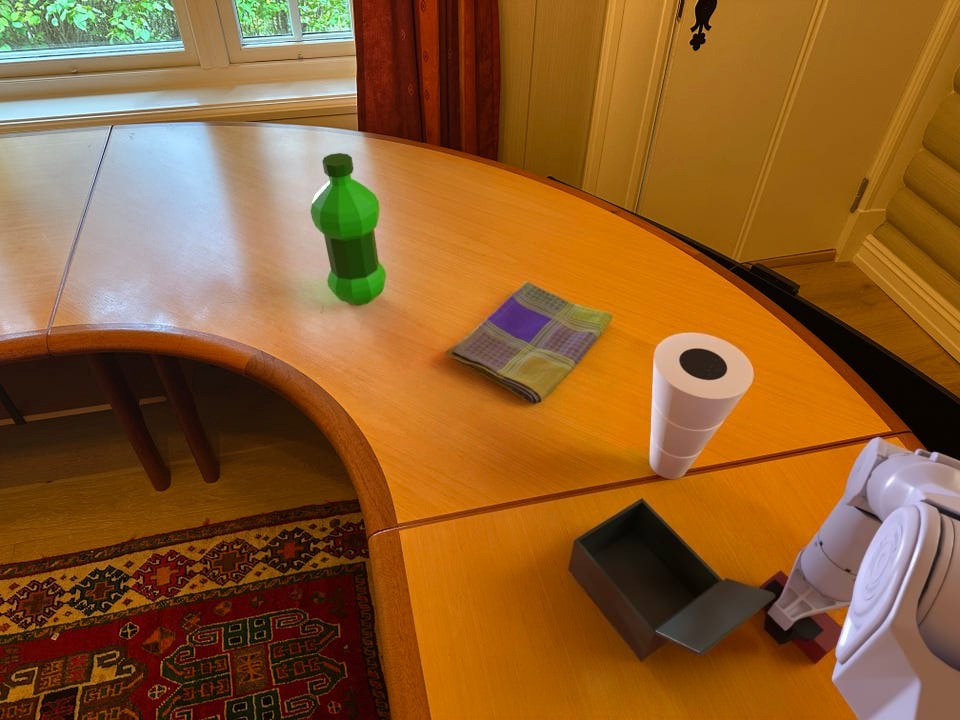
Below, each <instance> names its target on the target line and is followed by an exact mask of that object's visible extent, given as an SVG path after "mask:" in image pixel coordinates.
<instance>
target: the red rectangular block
mask: <svg viewBox="0 0 960 720" xmlns="http://www.w3.org/2000/svg"><path fill="white" fill-rule="evenodd" d="M788 578H789V576H788V575H787V574H786V573H785V572H784V571H783V570H782V569H781V570H779V571H777V572H776V573H775V574H774V575H772V576H771V577H770V578H768V579H767V580H766V581H765V582H763V583H761V585H759V587H758V588H760V589H763V588H764V587H765V586H766V585H767V584H769V583H770V582H771V581H773V580H774V579H776V580H777V581H778V582H779V583H780V584H781V585H782V586H783V587H785V585H786V583H787V580H788ZM760 610H761V612H763V613H764V614H765V608H764V607H763V608H761V609H760ZM810 617H811V618H812V619H813V620H814V621H815V622H816V623H817V624H818V625H820V626H821V627H822V628H823V629H824V631H823V632H822V633H820V634H819V635H818V636H817V637H816V638H815V639H813V640H811V641H808V642H803V641H801V640H793V641H792V643H794V645H795V646H796V647H797V648H798V649H799V650H800V651H802V652H803V654H804V655H806V657H808V658H809V659H810V661H811V662H812V663H813V664H814V665H817V664H818V663H820V661H821V660H822V659H823V658H824V657H826V656H827V655H828V654H829V653H830V652H831V651H832V650H834V648H836V647H837V644H838V641H839V637H840V634H841V631H842V628H843V626H841V625H840V624H839V623H838V622H837V620H835V619H834V618H833V617H832V616H831V615H830V614H829V613H828V612H824V613H820V614H816V615H812V616H810Z"/></svg>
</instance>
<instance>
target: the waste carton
mask: <svg viewBox="0 0 960 720" xmlns="http://www.w3.org/2000/svg"><path fill="white" fill-rule="evenodd" d="M571 547H572V548H571V552H570V558H569V563H568V567H567V571H568V572H569V573H570V574H571V576H572V577H573V578H574V580H575V581H576V582H577V583H578V585H579V586H580V587H581V588H582V590H583V591H584V592H585V593H586V595H587V596H588V597H589V599H590V601H592V602H593V603H594V605H595V606H596V607H597V608H598V610H599V611H600V612H601V614H602V615H603V616H604V617H605V618H606V620H607V621H608V622H609V624H610V625H611V626H612V627H613V629H614V630H615V631H616V632H617V634H618V635H619V636H620V637H621V639H622V640H623V641H624V643H625V644H626V645H627V646H628V648H629V649H630V650H631V651H632V652H633V654H634V655H635V657H637V659H638V660H639V662H643V661H644V660H646V659H647V658H648V657H650V656H651V655H652V654H654V653H655V652H656V651H657V650H659V649H660V648H661V647H663V646H664V645H666V644H667V643H668V642H670V641H669V640H667V639H665V638H663V637H661V636H659V635H657V634H656V630H657V629H658V628H660V627H661V626H662V625H664V624H665V623H666V622H668V621H669V620H670V619H672V618H673V617H674V616H676V615H677V614H678V613H680V612H681V611H683V610H684V609H685V608H687V607H688V606H689V605H691V604H692V603H693V602H695V601H696V600H697V599H699V598H700V597H701V596H703V595H704V594H705V593H707V592H708V591H709V590H711V589H712V588H713V587H715V586H716V585H718V584H719V583H720V582H722V581H723V580H724V579H722V577H720V576H719V574H717V572H716V571H715V570H714V569H713V568H712V567H710V565H708V563H707V562H706V561H705V560H704V559H703V558H702V557H701V556H700V555H699V554H698V553H697V552H696V551H695V550H694V549H693V548H692V546H690V545H689V544H688V543H687V542H686V541H685V540H684V539H683V538H682V536H680V535H679V534H678V533H677V532H676V530H674V529H673V528H672V527H671V525H670V524H668V522H666V520H664V518H663V517H661V515H660V514H659V513H657V511H655V509H654V508H653V507H652V506H651V505H650V504H649V503H648V502H647V501H646V500H645V499H644V498H643V497H641V498H639V499H638V500H636V501H635V502H633V503H631V504H630V505H627V506H626V507H625V508H623V509H622V510H619V511H618V512H617V513H615V514H613V515H612V516H610V517H608V518H606V520H604V521H602V522H601V523H599V524H597V525H596V526H594V527H593V528H591V529H589V530H587V531H586V532H584V533H583V534H581V535H579V536H578V537H576V538H574V539H573V542H572V546H571Z"/></svg>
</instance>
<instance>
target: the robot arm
mask: <svg viewBox="0 0 960 720" xmlns="http://www.w3.org/2000/svg"><path fill="white" fill-rule="evenodd" d="M844 489H845V490H844V494H843V495H842V496H841V498H840V499H839V501H838V502H837V503H836V505H835V506H834V507H833V509H832V510H831V512H830V513H829V515H828V516H827V518H826V519H825V520H824V522H823V523H822V524H821V526H820V528H819V529H818V531H817V532H816V533H815V534H814V536H813V538H811V540H810V541H809V543H808V544H807V545H806V546H804V547H802V549H801V550H800V551H799V553H798V555H797V556H796V557H795V558H796V559H795V561H794V562H793V563H794V564H793V565H792V568H791V571H790V572H789V576H788V577H789V578H788V580H787V583H786V585H785V587H783V586H782V585H781V584H780V583H779V582H778V581H777V580H776V579H774V580H773V581H771V582H770V583H769V584H767V585H766V586H765V587H764V588H763V590H766V591H769V592H772V593H775V596H776V597H775V598H774V599H773V600H771V601H770V602H769V603H768V604H766V605H765V606H764V608H765V613H764V614H765V615H764V623H763V630H764V631H765V632H766V634H768V635H769V636H770V638H771V639H773V641H775V643H776V644H777V645H779V646H783V645H786V644H788V643H790V642H793V640H801V641H803V642H808V641H811V640H813V639H815V638H816V637H817V636H818V635H819V634H820V633H822V632H823V631H824V629H823V628H822V627H821V626H820V625H818V624H817V623H816V622H815V621H814V620H813V619H812V618H811V617H810V616H812V615H816V614H820V613H824V612H826V613H828V612H833V611H836V610H837V611H838V610H840V609H844V608H845V609H846V608H848V610H847V614H846V615H845V619H844V623H843V626H842V631H841V634H840V637H839V641H838V644H837V645H836V646H835V658H836V662H835V666H834V669H833V673H832V676H831V681H832V683H833V684H834V686H835V688H836V689H837V690H838V692H839V693H840V695H841V696H842V698H843V699H844V701H845V702H846V703H847V705H848V706H849V707H850V710H852V712H853V713H854V715H855V716H856V718H857V720H960V460H958V459H956V458H953V457H952V456H951V457H950V456H948V455H946V454H942V453H940V452H937V451H933V452H931V451H927V450H925V449H922V448H917V449H915V451H914V452H913V451H911V450H909V449H906V448H903V447H902V446H898V445H896V444H893V443H891V442H889V441H886V440H885V439H883V438H882V437H880V436H876V437H873V438H872V439H871V440H869V441H868V443H867V444H866V445H865V446H864V447H863V449H862V451H860V453H859V455H858V457H857V458H856V459H855V461H854V464H853V466H852V468H851V470H850V472H849V475H848V478H847V481H846V485H845V488H844Z"/></svg>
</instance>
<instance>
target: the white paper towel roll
mask: <svg viewBox="0 0 960 720" xmlns="http://www.w3.org/2000/svg"><path fill="white" fill-rule="evenodd" d="M753 381H754V368H753V365H752V363H751V361H750V360H749V358H748V356H746V354H745V353H744V352H742V350H740V349H739V347H737V346H735V345H733V344H732V343H730V342H728V341H727V340H724V339H722V338H720V337H717V336H714V335H711V334H706V333H702V332H701V333H700V332H681V333H675V334H673V335H670V336H668V337H666V338H664V339H662V341H660V342H659V343H658V344H657V346H656V348H655V350H654V352H653V368H652V389H651V392H652V393H651V394H652V395H651V415H650V416H651V420H650V437H649V439H650V441H649V460H648V461H649V465H650V468H651V470H652V471H653V472H654V473H655V474H656V475H658V476H659V477H661V478H664V479H669V480H676V479H677V480H678V479H680V478H682V477H683V476H685V474H686V473H687V472H688V471H689V469H690V468H691V466H692V465H693V463H694V462H695V461H696V460H697V459H698V457H699V456H700V454H701V453H702V451H703V450H704V448H705V447H706V446H707V444H708V443H709V442H710V440H711V439H712V438H713V437H714V435H715V434H716V432H717V431H718V429H720V427H721V426H722V424H723V423H724V422H725V420H726V419H727V418H728V416H729V415H730V413H732V411H733V410H734V408H735V407H736V406H737V405H738V403H739V401H741V399H742V397H743V396H744V395H745V393H746V392H747V391H748V389H749V388H750V387H751V386H752V383H753Z"/></svg>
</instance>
